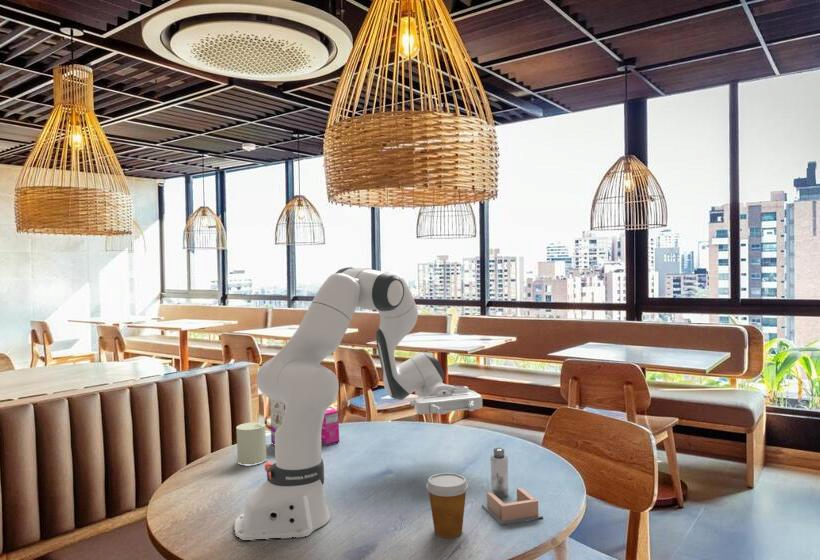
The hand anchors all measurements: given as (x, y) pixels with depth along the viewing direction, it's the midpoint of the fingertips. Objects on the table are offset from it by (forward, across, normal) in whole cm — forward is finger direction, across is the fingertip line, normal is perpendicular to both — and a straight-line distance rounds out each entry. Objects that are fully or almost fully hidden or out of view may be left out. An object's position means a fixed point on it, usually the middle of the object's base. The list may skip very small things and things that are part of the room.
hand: (456, 409), depth 160 cm
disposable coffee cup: (+28, -13, +20) cm, 37 cm away
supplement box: (-49, -31, +21) cm, 61 cm away
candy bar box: (-50, -46, +21) cm, 71 cm away
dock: (+24, +5, +20) cm, 32 cm away
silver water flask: (+13, +7, +20) cm, 25 cm away
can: (-37, -57, +20) cm, 71 cm away
